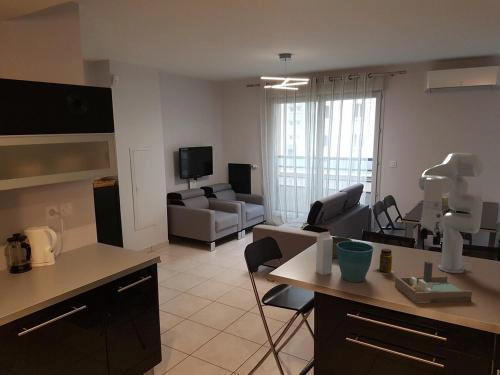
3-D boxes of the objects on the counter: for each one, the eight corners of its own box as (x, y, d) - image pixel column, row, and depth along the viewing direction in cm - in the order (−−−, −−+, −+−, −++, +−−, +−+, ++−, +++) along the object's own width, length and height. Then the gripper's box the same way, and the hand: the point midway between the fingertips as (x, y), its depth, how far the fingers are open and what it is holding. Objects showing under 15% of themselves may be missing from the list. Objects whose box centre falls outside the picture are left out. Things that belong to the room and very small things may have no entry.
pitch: (445, 284, 177) (446, 275, 177) (471, 300, 159) (472, 290, 159) (394, 286, 175) (395, 276, 174) (414, 303, 157) (415, 292, 156)
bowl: (318, 256, 219) (319, 240, 218) (330, 249, 233) (330, 234, 232) (346, 262, 209) (347, 245, 208) (356, 254, 224) (357, 238, 222)
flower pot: (379, 282, 179) (381, 249, 177) (347, 286, 174) (349, 252, 172) (358, 270, 196) (360, 239, 194) (329, 273, 191) (330, 242, 189)
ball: (407, 290, 168) (414, 292, 168) (411, 293, 164) (418, 295, 165) (410, 283, 168) (417, 285, 168) (414, 286, 164) (421, 288, 164)
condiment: (394, 272, 194) (396, 250, 193) (384, 275, 190) (386, 253, 188) (383, 268, 200) (384, 247, 199) (373, 271, 196) (374, 249, 194)
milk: (331, 273, 192) (333, 233, 189) (322, 275, 189) (323, 234, 186) (324, 269, 197) (326, 230, 194) (315, 271, 195) (317, 231, 192)
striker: (436, 286, 170) (437, 260, 168) (442, 290, 165) (444, 264, 163) (417, 286, 169) (419, 260, 167) (423, 291, 164) (425, 264, 162)
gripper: (452, 208, 155) (449, 247, 157) (429, 201, 172) (426, 236, 174) (436, 208, 154) (433, 247, 156) (414, 201, 171) (411, 236, 173)
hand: (429, 241), depth 165 cm, fingers open, 9 cm apart
